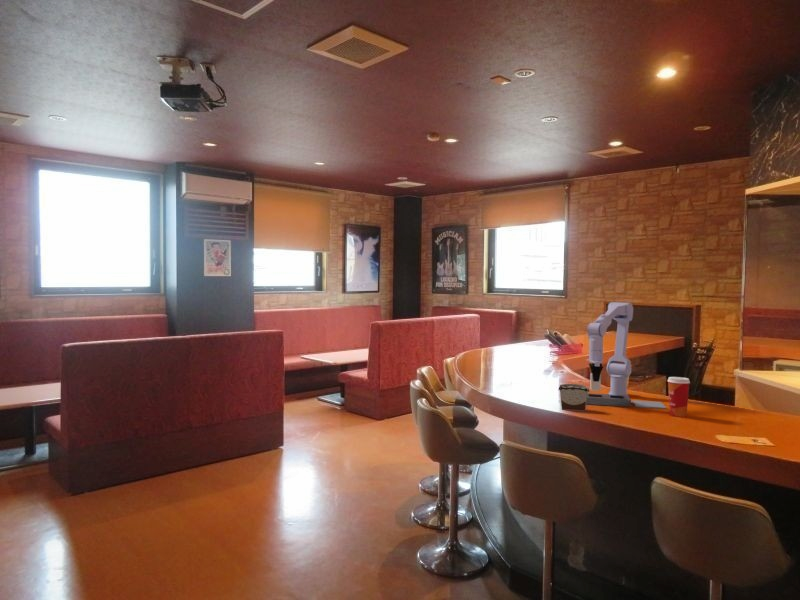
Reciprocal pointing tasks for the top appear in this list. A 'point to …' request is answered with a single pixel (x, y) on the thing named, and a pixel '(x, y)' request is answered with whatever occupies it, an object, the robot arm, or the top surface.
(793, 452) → the top surface
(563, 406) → the food container
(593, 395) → the metal frame
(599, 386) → the ivory plug
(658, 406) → the rubber pad
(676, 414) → the coffee cup
